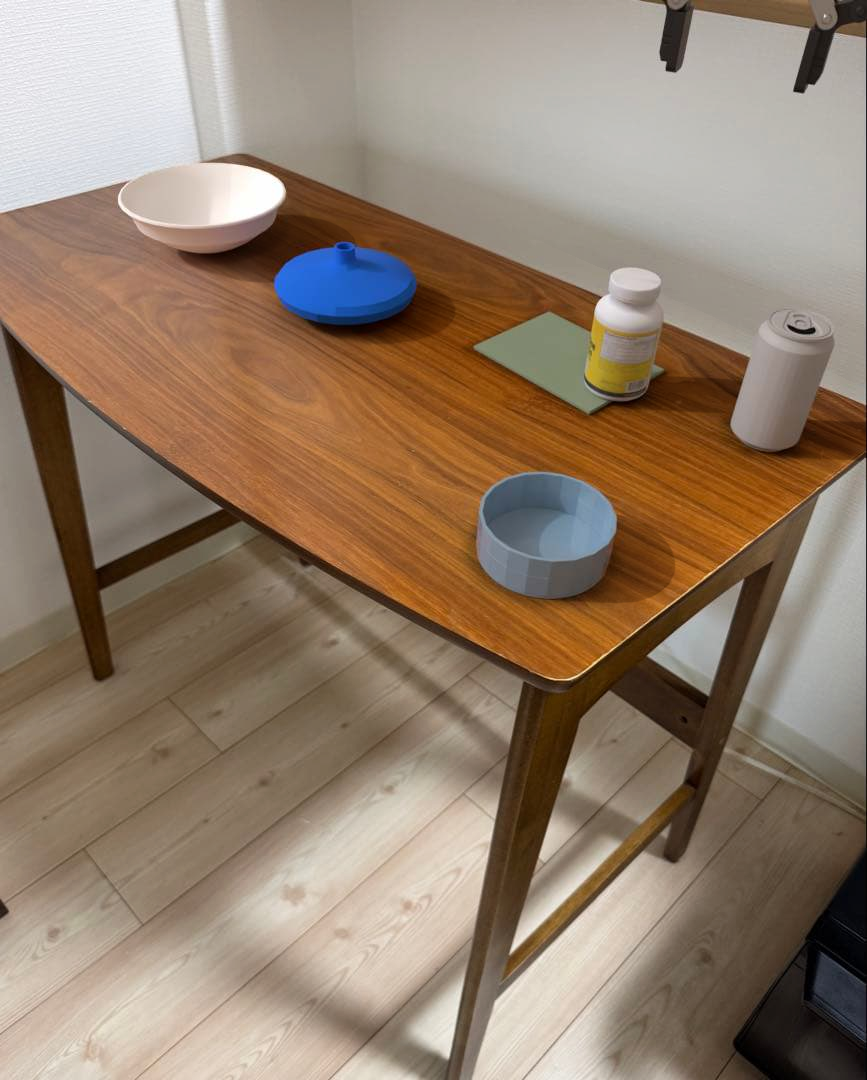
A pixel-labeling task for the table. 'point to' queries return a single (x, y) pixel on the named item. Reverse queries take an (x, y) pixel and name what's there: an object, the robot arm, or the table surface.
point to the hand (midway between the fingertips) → (735, 79)
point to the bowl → (203, 205)
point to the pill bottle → (625, 336)
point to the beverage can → (782, 378)
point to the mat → (549, 358)
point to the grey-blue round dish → (545, 534)
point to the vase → (345, 285)
